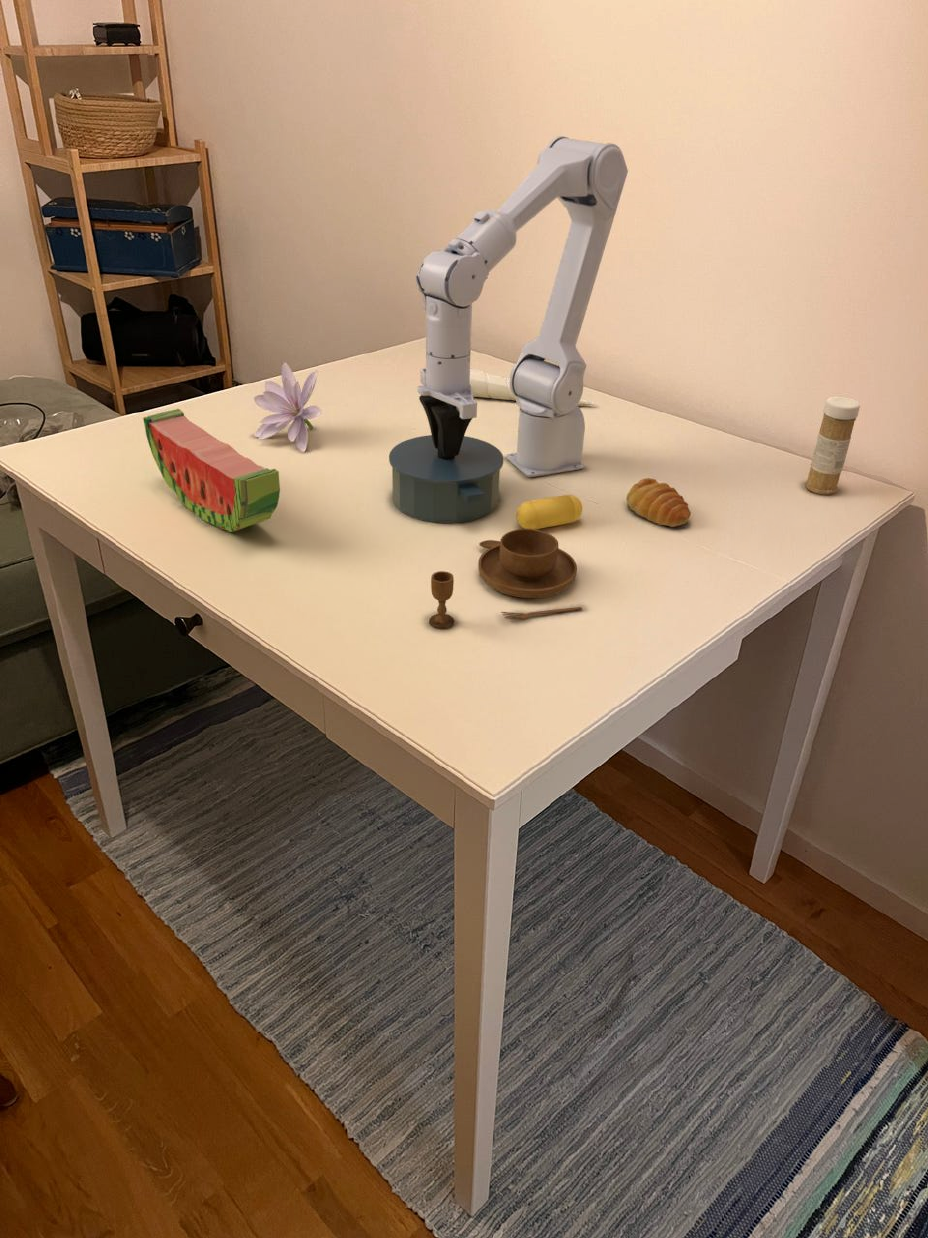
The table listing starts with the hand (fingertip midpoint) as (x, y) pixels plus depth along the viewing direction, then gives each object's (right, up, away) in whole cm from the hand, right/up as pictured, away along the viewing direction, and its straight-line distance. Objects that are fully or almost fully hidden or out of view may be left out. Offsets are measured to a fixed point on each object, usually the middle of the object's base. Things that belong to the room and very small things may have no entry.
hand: (446, 451), depth 126 cm
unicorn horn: (+13, +16, +38) cm, 43 cm away
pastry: (+29, -8, +2) cm, 30 cm away
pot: (0, -6, +4) cm, 7 cm away
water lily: (-26, +6, +21) cm, 33 cm away
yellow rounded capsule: (+14, -10, -2) cm, 17 cm away
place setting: (+6, -19, -14) cm, 24 cm away
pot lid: (0, -1, +1) cm, 1 cm away
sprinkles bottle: (+55, -4, +10) cm, 56 cm away
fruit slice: (-31, -8, -1) cm, 32 cm away
